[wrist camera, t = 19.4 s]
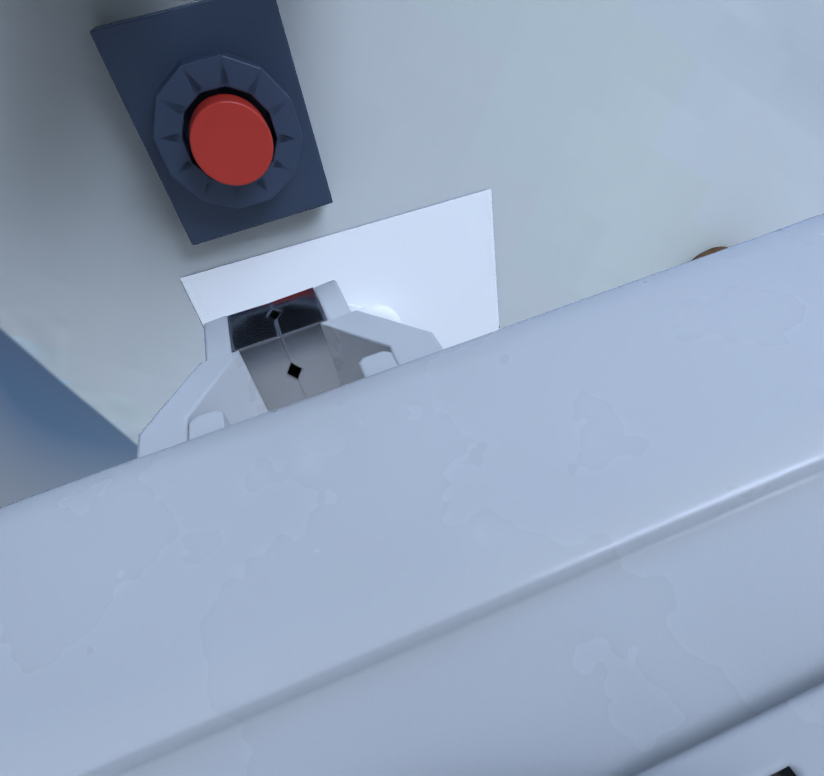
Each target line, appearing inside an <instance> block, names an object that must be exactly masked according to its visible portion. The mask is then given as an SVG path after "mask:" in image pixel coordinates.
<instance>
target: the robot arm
mask: <svg viewBox="0 0 824 776" xmlns="http://www.w3.org/2000/svg"><path fill="white" fill-rule="evenodd" d="M314 290H315V291H314ZM204 337H205V354H206V362H203V363H200V364H199V365H198V366H197V368H196V369H195V370H194V371H193V372H192V373H191V375H190V376H189V377H188V378H187V379H186V380H185V382H184V383H183V384H182V385H181V386H180V387H179V389H178V390H177V391H176V392H175V393H174V394H173V396H172V397H171V398H170V399H169V400H168V401H167V403H166V404H165V405H164V406H163V407H162V408H161V410H160V411H159V412H158V413H157V414H156V415H155V417H154V418H153V419H152V420H151V421H150V423H149V424H148V425H147V426H146V427H145V428H144V430H143V431H142V432H141V433H140V434H139V439H138V450H137V459H134V460H131V461H129V462H126V463H123V464H120V465H117V466H115V467H112V468H109V469H106V470H104V471H101V472H98V473H95V474H92V475H89V476H87V477H84V478H81V479H78V480H75V481H72V482H70V483H67V484H64V485H62V486H59V487H56V488H53V489H50V490H47V491H45V492H42V493H39V494H36V495H33V496H31V497H28V498H25V499H22V500H19V501H17V502H14V503H11V504H8V505H5V506H3V507H0V776H824V214H821V215H818V216H815V217H812V218H809V219H806V220H803V221H801V222H798V223H795V224H792V225H790V226H787V227H784V228H782V229H779V230H776V231H773V232H771V233H768V234H765V235H762V236H760V237H757V238H754V239H751V240H749V241H746V242H743V243H740V244H737V245H734V246H732V247H729V248H726V249H723V250H720V251H718V252H715V253H712V254H709V255H706V256H703V257H701V258H698V259H695V260H692V261H689V262H687V263H684V264H681V265H678V266H675V267H673V268H670V269H667V270H664V271H661V272H659V273H656V274H653V275H650V276H647V277H645V278H642V279H639V280H636V281H633V282H631V283H628V284H625V285H622V286H619V287H617V288H614V289H611V290H608V291H605V292H603V293H600V294H597V295H594V296H591V297H589V298H586V299H583V300H580V301H577V302H575V303H572V304H569V305H566V306H563V307H561V308H558V309H555V310H552V311H549V312H547V313H544V314H541V315H538V316H535V317H533V318H530V319H527V320H524V321H521V322H519V323H516V324H513V325H510V326H507V327H505V328H502V329H499V330H496V331H493V332H491V333H488V334H485V335H482V336H479V337H477V338H474V339H471V340H468V341H465V342H463V343H460V344H457V345H454V346H451V347H449V348H446V349H443V348H442V346H441V345H440V343H439V342H438V340H437V339H436V338H435V336H434V335H433V333H432V332H429V331H425V330H422V329H419V328H415V327H412V326H408V325H405V324H401V323H398V322H395V321H391V320H388V319H384V318H381V317H377V316H374V315H371V314H367V313H364V312H360V311H354V312H351V311H350V309H349V307H348V305H347V302H346V300H345V298H344V296H343V294H342V292H341V290H340V288H339V286H338V284H337V282H336V281H335V280H332V281H330V282H327V283H325V284H322V285H319V286H317V287H314V288H313V287H312V288H309V289H307V290H304V291H301V292H298V293H295V294H293V295H290V296H287V297H284V298H281V299H278V300H276V301H273V302H270V303H267V304H263V305H260V306H257V307H254V308H251V309H247V310H244V311H241V312H238V313H234V314H231V315H228V316H223V317H221V318H218V319H215V320H212V321H210V322H207V323H205V324H204Z"/></svg>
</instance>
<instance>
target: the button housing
mask: <svg viewBox="0 0 824 776" xmlns="http://www.w3.org/2000/svg"><path fill="white" fill-rule="evenodd" d="M90 34H91V36H92V38H93V40H94V42H95V44H96V46H97V48H98V50H99V52H100V54H101V56H102V59H103V61H104V63H105V65H106V67H107V69H108V71H109V73H110V75H111V77H112V79H113V81H114V83H115V85H116V88H117V90H118V92H119V94H120V96H121V98H122V100H123V102H124V104H125V106H126V108H127V110H128V112H129V114H130V117H131V119H132V121H133V123H134V125H135V127H136V129H137V131H138V133H139V135H140V137H141V139H142V141H143V143H144V145H145V148H146V150H147V152H148V154H149V156H150V158H151V160H152V162H153V164H154V166H155V168H156V170H157V172H158V174H159V177H160V179H161V181H162V183H163V185H164V187H165V189H166V191H167V193H168V195H169V197H170V199H171V201H172V203H173V205H174V208H175V210H176V212H177V214H178V216H179V218H180V220H181V222H182V224H183V226H184V228H185V230H186V232H187V234H188V237H189V239H190V241H191V243H192V245H196V244H199V243H202V242H206V241H209V240H212V239H215V238H219V237H222V236H225V235H228V234H232V233H235V232H238V231H241V230H245V229H248V228H251V227H254V226H258V225H261V224H264V223H268V222H271V221H274V220H277V219H281V218H284V217H287V216H290V215H294V214H297V213H300V212H303V211H307V210H310V209H313V208H316V207H320V206H323V205H326V204H329V203H332V198H331V194H330V191H329V187H328V184H327V180H326V177H325V173H324V169H323V166H322V162H321V159H320V155H319V152H318V148H317V145H316V141H315V137H314V134H313V130H312V127H311V123H310V120H309V116H308V113H307V109H306V106H305V102H304V98H303V95H302V91H301V88H300V84H299V81H298V77H297V74H296V70H295V67H294V63H293V59H292V56H291V52H290V49H289V45H288V42H287V38H286V35H285V31H284V28H283V24H282V20H281V17H280V13H279V10H278V6H277V3H276V0H203V1H199V2H195V3H191V4H187V5H183V6H179V7H175V8H171V9H167V10H163V11H159V12H155V13H151V14H147V15H143V16H139V17H135V18H131V19H127V20H123V21H119V22H115V23H111V24H107V25H103V26H99V27H95V28H94V29H92V30H91V31H90ZM217 94H232V95H236V96H239V97H241V98H243V99H245V100H247V101H248V102H250V103H251V104H252V105H254V106H255V107H256V108H257V109H258V111H259V112H260V113H261V115H262V116H263V118H264V120H265V122H266V123H267V125H268V127H269V130H270V132H271V135H272V139H273V157H272V161H271V163H270V166H269V167H268V169H267V171H266V172H265V173H264V174H263V175H262V176H261V177H260V178H259V179H257V180H256V181H254V182H252V183H249V184H246V185H239V186H233V185H227V184H223V183H220V182H218V181H216V180H214V179H212V178H211V177H210V176H208V175H207V174H206V173H205V172H204V171H203V170H202V169H201V168H200V167H199V165H198V164H197V162H196V161H195V159H194V157H193V154H192V151H191V147H190V140H189V124H190V119H191V116H192V114H193V112H194V110H195V109H196V107H197V106H198V105H199V104H200V103H201V102H202V101H203V100H205V99H206V98H208V97H210V96H213V95H217Z"/></svg>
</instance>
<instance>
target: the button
mask: <svg viewBox="0 0 824 776" xmlns="http://www.w3.org/2000/svg"><path fill="white" fill-rule="evenodd" d="M189 140H190V147H191V151H192V154H193V157H194V159H195V161H196V162H197V164H198V165H199V167H200V168H201V169H202V170H203V171H204V172H205V173H206V174H207V175H208V176H210V177H211V178H212V179H214V180H216V181H218V182H220V183H223V184H227V185H233V186H239V185H246V184H249V183H252V182H254V181H256V180H257V179H259V178H260V177H261V176H262V175H263V174H264V173H265V172H266V171H267V169H268V167H269V166H270V163H271V161H272V157H273V139H272V135H271V132H270V130H269V127H268V125H267V123H266V122H265V120H264V118H263V116H262V115H261V113H260V112H259V111H258V109H257V108H256V107H255V106H254V105H252V104H251V103H250V102H248V101H247V100H245V99H243V98H241V97H239V96H236V95H232V94H217V95H213V96H210V97H208V98H206V99H205V100H203V101H202V102H201V103H200V104H199V105H198V106H197V107H196V109H195V110H194V112H193V114H192V116H191V119H190V124H189Z"/></svg>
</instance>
